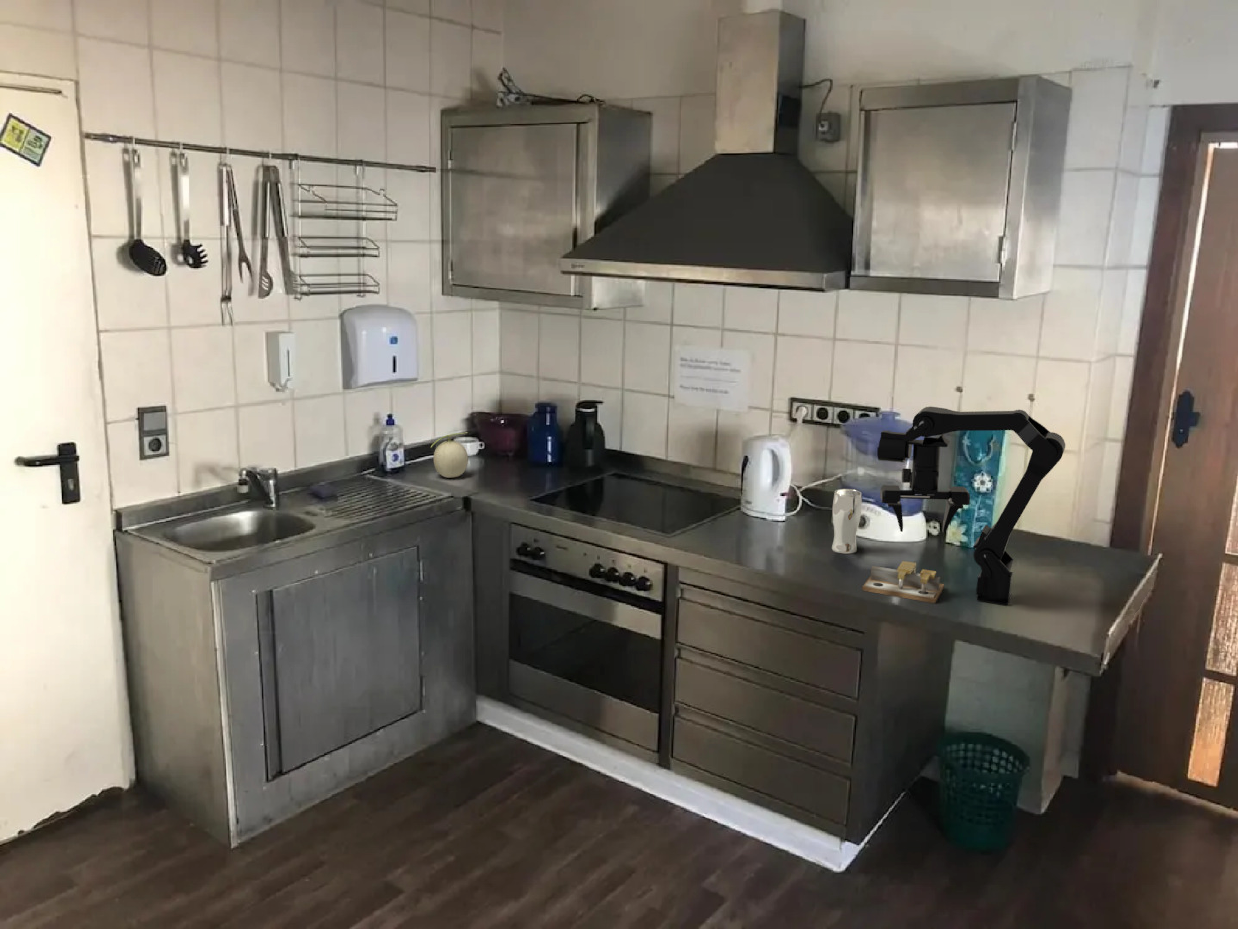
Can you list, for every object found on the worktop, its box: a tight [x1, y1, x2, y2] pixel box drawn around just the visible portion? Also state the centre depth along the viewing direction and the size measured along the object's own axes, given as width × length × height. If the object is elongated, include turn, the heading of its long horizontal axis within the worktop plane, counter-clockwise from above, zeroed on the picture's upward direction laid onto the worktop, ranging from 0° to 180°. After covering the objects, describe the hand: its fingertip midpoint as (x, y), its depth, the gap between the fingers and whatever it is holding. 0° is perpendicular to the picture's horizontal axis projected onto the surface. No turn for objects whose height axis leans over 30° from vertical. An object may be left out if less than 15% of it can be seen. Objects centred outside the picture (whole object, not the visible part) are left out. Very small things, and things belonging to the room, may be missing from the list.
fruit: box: [430, 431, 469, 479], centre depth 319 cm, size 10×12×15 cm
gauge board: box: [861, 565, 945, 604], centre depth 231 cm, size 16×10×5 cm, turn 63°
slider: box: [896, 560, 917, 588], centre depth 232 cm, size 3×9×4 cm, turn 153°
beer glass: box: [831, 488, 863, 555], centre depth 256 cm, size 7×7×15 cm
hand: (922, 531), depth 231 cm, fingers open, 9 cm apart
